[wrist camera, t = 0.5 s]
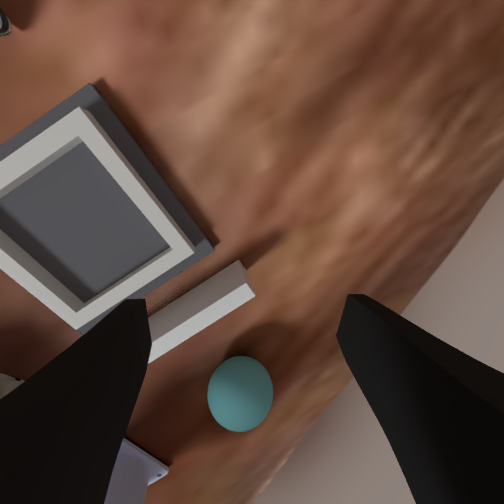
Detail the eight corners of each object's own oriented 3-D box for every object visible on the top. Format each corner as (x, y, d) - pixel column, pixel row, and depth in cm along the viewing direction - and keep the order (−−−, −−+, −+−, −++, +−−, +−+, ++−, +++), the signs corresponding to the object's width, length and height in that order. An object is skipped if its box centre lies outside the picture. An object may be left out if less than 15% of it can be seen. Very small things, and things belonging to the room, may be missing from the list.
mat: (87, 330, 19) (75, 346, 17) (-69, 200, 14) (-105, 205, 13) (214, 247, 19) (214, 256, 17) (94, 85, 14) (79, 75, 12)
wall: (106, 360, 20) (83, 404, 17) (95, 351, 20) (69, 394, 16) (246, 270, 20) (255, 295, 16) (238, 259, 19) (246, 282, 16)
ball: (228, 396, 24) (234, 458, 19) (195, 363, 22) (191, 424, 17) (275, 367, 24) (293, 423, 19) (245, 332, 22) (257, 383, 17)
